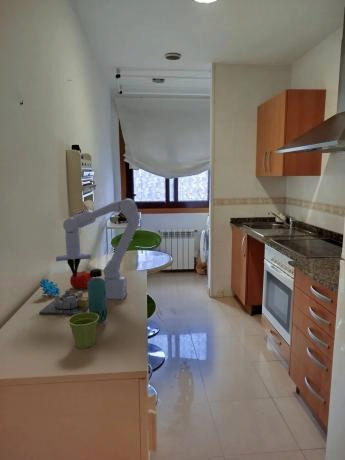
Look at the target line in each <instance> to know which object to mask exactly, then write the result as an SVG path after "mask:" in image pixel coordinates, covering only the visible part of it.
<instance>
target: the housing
mask: <svg viewBox="0 0 345 460" xmlns="http://www.w3.org/2000/svg"><path fill="white" fill-rule="evenodd" d="M74 293H75V292H70V293H66V294H65V293H62V294H61V295H62V296H61V297H62V301H67V297H69V296H72V300H75V299H76V294H74Z"/></svg>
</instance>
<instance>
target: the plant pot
mask: <svg viewBox="0 0 345 460" xmlns="http://www.w3.org/2000/svg"><path fill="white" fill-rule="evenodd" d="M98 320H99V315H98V314H96V313H91V312H89V311H88V312H87V311H85V312H84V313H79V314H76V315H73V316H70V317H69V318H68V319H67V323H68V324H69V327H70V328H71V332H72V336H73V341H74V346H75V348H78V349H82V350H83V349H88V348H89V347H90V348H91V347H93V346H95V344H96V338H97V325H98V324H99V323H98Z"/></svg>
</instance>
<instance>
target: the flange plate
mask: <svg viewBox="0 0 345 460" xmlns="http://www.w3.org/2000/svg"><path fill="white" fill-rule="evenodd" d="M83 298H88V296H87V297H84V296H83ZM87 310H89V306H88V307H79V306H78V307H75V308H70V309H59V308H56V307H55V304H54V300H53V301H51V302H50V303H49V304H47V305H46V306H45V307H43V308H42V309H41V310H40V311H39V312H38V315H41V316H42V315H45V316H49V315H50V316H70V317H71V316H73V315H76V314H79V313H85V312H87Z"/></svg>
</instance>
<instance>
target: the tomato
mask: <svg viewBox="0 0 345 460" xmlns="http://www.w3.org/2000/svg"><path fill="white" fill-rule="evenodd" d="M92 278H94V277H90V271H86V270H82V271H77V276H76V277H73V274H72V275H71V276H70V280H69V282H70V285H71V287H73V288H74V289H79V290H85V289H87V288H88V285H87V283H88V281H89V280H90V279H92Z"/></svg>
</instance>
